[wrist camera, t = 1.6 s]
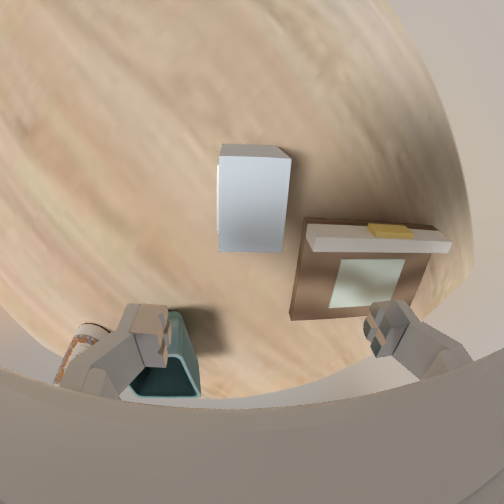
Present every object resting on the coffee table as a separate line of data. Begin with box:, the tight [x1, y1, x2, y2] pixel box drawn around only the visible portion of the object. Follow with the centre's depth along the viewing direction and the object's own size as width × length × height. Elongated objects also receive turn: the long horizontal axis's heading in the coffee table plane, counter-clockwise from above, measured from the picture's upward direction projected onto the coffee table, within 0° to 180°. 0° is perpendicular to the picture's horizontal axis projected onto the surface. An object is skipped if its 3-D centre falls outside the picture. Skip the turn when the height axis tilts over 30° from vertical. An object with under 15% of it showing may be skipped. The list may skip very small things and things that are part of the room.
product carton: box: [217, 144, 291, 252], centre depth 23 cm, size 5×8×7 cm
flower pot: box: [128, 311, 201, 398], centre depth 30 cm, size 9×9×9 cm
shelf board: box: [289, 218, 438, 321], centre depth 31 cm, size 13×18×2 cm
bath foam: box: [52, 324, 109, 387], centre depth 27 cm, size 7×7×20 cm
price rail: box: [306, 223, 452, 253], centre depth 27 cm, size 2×18×3 cm, turn 87°
